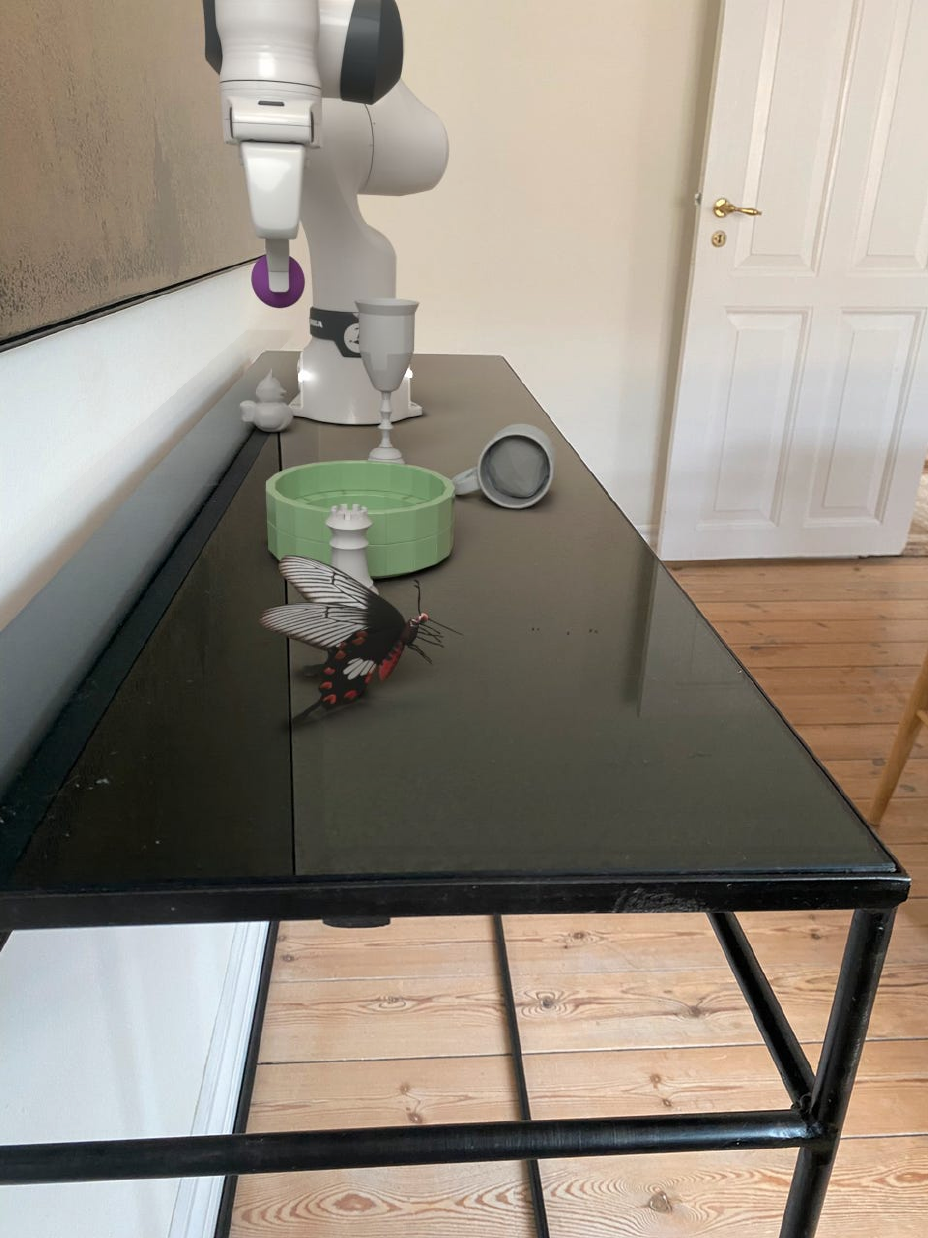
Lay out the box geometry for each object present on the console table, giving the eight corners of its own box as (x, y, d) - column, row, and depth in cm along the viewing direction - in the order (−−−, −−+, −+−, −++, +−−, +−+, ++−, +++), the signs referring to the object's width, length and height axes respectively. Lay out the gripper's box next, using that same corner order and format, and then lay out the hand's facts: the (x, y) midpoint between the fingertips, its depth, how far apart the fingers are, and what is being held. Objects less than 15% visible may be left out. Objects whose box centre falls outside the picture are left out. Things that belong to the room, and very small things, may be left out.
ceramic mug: (554, 489, 100) (558, 417, 97) (551, 511, 92) (556, 434, 89) (456, 483, 101) (458, 412, 98) (445, 505, 94) (446, 429, 90)
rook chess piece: (354, 632, 65) (354, 523, 62) (306, 616, 67) (302, 510, 64) (392, 611, 69) (393, 507, 65) (344, 597, 71) (343, 495, 68)
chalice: (406, 481, 100) (409, 306, 93) (346, 475, 101) (344, 302, 94) (422, 465, 107) (427, 300, 99) (366, 459, 108) (366, 296, 101)
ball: (253, 304, 91) (250, 249, 89) (305, 305, 92) (303, 251, 90) (252, 310, 87) (248, 253, 85) (306, 311, 87) (304, 254, 85)
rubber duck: (294, 436, 117) (292, 371, 114) (240, 436, 116) (236, 370, 112) (293, 426, 122) (290, 364, 118) (241, 426, 120) (237, 363, 117)
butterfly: (311, 777, 56) (187, 667, 52) (355, 685, 62) (247, 582, 59) (441, 712, 50) (310, 583, 47) (475, 618, 56) (363, 498, 53)
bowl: (268, 524, 86) (266, 460, 83) (436, 521, 88) (438, 459, 86) (268, 589, 72) (265, 514, 69) (467, 582, 75) (470, 511, 72)
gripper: (241, 131, 92) (249, 280, 97) (230, 112, 73) (241, 297, 79) (306, 134, 93) (310, 281, 98) (311, 116, 74) (316, 298, 80)
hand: (279, 288), depth 88 cm, fingers closed on ball, 5 cm apart
